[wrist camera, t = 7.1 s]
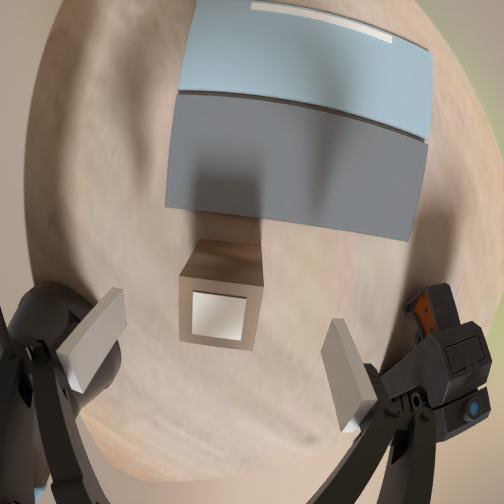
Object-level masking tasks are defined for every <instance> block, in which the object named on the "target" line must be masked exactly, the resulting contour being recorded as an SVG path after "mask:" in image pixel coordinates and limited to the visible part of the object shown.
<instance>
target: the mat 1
mask: <svg viewBox="0 0 504 504" xmlns="http://www.w3.org/2000/svg"><path fill="white" fill-rule="evenodd" d="M432 86H433V63H432V53H430V52H428V51H426V50H424V49H423V48H421V47H419V46H417V45H414V44H412V43H410V42H408V41H406V40H404V39H402V38H399V37H397V36H395V35H392V34H390V33H387V32H385V31H382V30H380V29H377V28H375V27H372V26H369V25H366V24H363V23H360V22H357V21H354V20H351V19H348V18H345V17H341V16H338V15H334V14H330V13H326V12H322V11H318V10H313V9H309V8H304V7H299V6H293V5H287V4H280V3H273V2H265V1H255V0H197V3H196V7H195V11H194V15H193V18H192V22H191V26H190V30H189V35H188V39H187V43H186V48H185V53H184V57H183V62H182V68H181V73H180V78H179V84H178V89H179V90H191V91H215V92H229V93H240V94H250V95H258V96H266V97H273V98H279V99H285V100H291V101H297V102H302V103H307V104H312V105H317V106H321V107H326V108H330V109H334V110H338V111H342V112H346V113H349V114H353V115H357V116H360V117H364V118H367V119H370V120H373V121H377V122H380V123H383V124H386V125H389V126H392V127H395V128H397V129H400V130H403V131H406V132H408V133H411V134H413V135H416V136H419V137H421V138H423V139H429V133H430V123H431V110H432Z"/></svg>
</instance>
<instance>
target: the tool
mask: <svg viewBox="0 0 504 504" xmlns="http://www.w3.org/2000/svg"><path fill="white" fill-rule="evenodd" d="M403 309H404V312H405V316H406V317H411V316H412V317H413V319H414V320H415V322H416V324H417V326H418V329H419V330H418V331H417V332H416V336H415V342H416V347H415V348H414V349H413V350H412V351H411V352H410V353H409V354H408V355H406V356H405V357H404V358H403V359H402V360H401V361H400V362H398V363H397V364H396V365H395V366H394V367H392V368H391V369H390V370H389V371H388V372H386V373H385V374H384V375H383V376H381V377H380V378H381V380H382V383H383V385H384V387H385V389H386V392H387V394H388V396H389V399H390V401H391V402H393V403H396V404H397V405H399V407H400V408H401V410H402V411H407V412H414V413H415V412H416V410H417V409H418V408H420V407H428V408H430V409H431V410H433V412H434V413H435V415H436V443H438V442H443V441H446V440H448V439H450V438H452V437H454V436H456V435H458V434H460V433H461V432H463V431H465V430H467V429H469V428H470V427H472V426H474V425H475V424H477V423H479V422H481V421H482V420H484V419H485V418H487V417H488V415H489V413H490V411H491V407H490V402H489V396H488V391H487V387H484V388H482V389H480V390H478V389H477V387H479V386H481V385H483V384H485V383H486V381H487V378H488V374H489V371H490V367H491V364H492V359H491V355H490V352H489V349H488V346H487V343H486V340H485V337H484V334H483V332H482V329H481V327H480V326H478V325H477V324H476V323H474V322H473V321H470V322H467V323H464V324H460V320H459V316H458V312H457V308H456V305H455V301H454V298H453V295H452V292H451V288H450V285H448V284H447V283H442V284H437V285H432V286H427V287H423V288H422V289H421V290H420V291H419V292H418V293H417V294H415V295H414V296H413V297H412V298H411V299H410V300H409V301H407V302H406V303H405V304H404V305H403Z"/></svg>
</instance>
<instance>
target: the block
mask: <svg viewBox="0 0 504 504" xmlns="http://www.w3.org/2000/svg"><path fill="white" fill-rule="evenodd" d="M263 289H264V281H263V266H262V251H261V247H260V246H252V245H244V244H236V243H228V242H220V241H212V240H204V239H200V241H199V243H198V244H197V246H196V248H195V249H194V251H193V253H192V255H191V256H190V258H189V260H188V261H187V263H186V265H185V267H184V268H183V270H182V272H181V274H180V275H179V341H183V342H189V343H195V344H202V345H208V346H215V347H223V348H231V349H239V350H248V351H253V345H254V340H255V334H256V329H257V323H258V318H259V312H260V306H261V301H262V295H263Z"/></svg>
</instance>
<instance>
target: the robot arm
mask: <svg viewBox="0 0 504 504" xmlns="http://www.w3.org/2000/svg"><path fill="white" fill-rule="evenodd" d="M126 325H127V321H126V313H125V305H124V296H123V289H118V288H114V287H112V288H111V290H110V291H109V292H108V293H107V294H106V295H105V296H104V297H103V298H102V299H101V300H100V301H99V302H98V303H97V305H96V306H95V307H94V308H93V307H92V306H91V305H90V304H89V303H88V302H87V301H86V300H85V299H84V298H82V297H81V296H80V295H78V294H77V293H76V292H74V291H72V290H71V289H69V288H67V287H65V286H63V285H60V284H57V283H54V282H42V283H39V284H37V285H35V286H34V287H33V288H32V289H30V291H28V292H27V293H26V294H25V295H24V296H23V297H22V299H21V301H20V303H19V305H18V309H17V310H16V312H15V314H14V316H13V317H12V319H11V321H10V323H9V325H8V327H6V324H5V321H4V318H3V314H2V311H1V307H0V504H36V502H37V501H38V499H39V497H40V495H41V494H42V492H43V491H44V490H45V488H46V487H47V480H48V478H49V475H50V473H51V476H52V479H53V483H52V484H51V490H52V493H53V496H54V499H55V501H56V504H110V502H109V501H108V500H107V498H106V497H105V495H104V493H103V491H102V489H101V487H100V485H99V482H98V480H97V478H96V476H95V474H94V471H93V469H92V467H91V464H90V462H89V459H88V457H87V454H86V452H85V449H84V446H83V443H82V440H81V437H80V435H79V431H78V429H77V425H76V422H75V419H76V417H77V416H78V414H79V412H80V410H81V409H82V408H83V407H84V406H85V405H86V404H88V403H89V402H90V401H91V400H93V399H94V398H95V397H96V396H97V395H98V394H100V393H101V392H102V391H103V390H104V389H106V388H107V387H109V386H110V385H111V383H112V382H113V380H114V378H115V376H116V375H117V373H118V371H119V369H120V365H121V354H120V350H119V346H118V343H117V341H116V340H117V339H118V337H119V336H120V334H121V333H122V331H123V330H124V328H125V327H126ZM321 355H322V358H323V362H324V366H325V370H326V374H327V377H328V381H329V385H330V389H331V393H332V397H333V401H334V405H335V409H336V413H337V417H338V422H339V426H340V430H341V433H347V432H355V431H356V429H357V428H358V427H359V426H360V429H361V432H360V434H359V435H358V436H357V437H356V438H355V440H354V441H353V442H354V443H353V444H352V446H351V447H350V448H349V450H348V451H347V453H346V454H345V456H344V457H343V459H342V460H341V461H340V463H339V464H338V465H337V467H336V468H335V470H334V471H333V472H332V473H331V475H330V476H329V477H328V478H327V480H326V481H325V482H324V483H323V485H322V486H321V487H320V488H319V489H318V491H317V492H316V493H315V494H314V495H313V496H312V498H311V499H310V500H309V501H308V502H307V503H306V504H354V503H355V502H356V500H357V499H358V497H359V496H360V494H361V493H362V491H363V489H364V488H365V486H366V485H367V483H368V482H369V480H370V478H371V477H372V475H373V473H374V472H375V470H376V468H377V466H378V464H379V463H380V461H381V459H382V457H383V455H384V453H385V451H386V449H387V447H388V446H391V447H390V452H389V457H388V462H387V466H386V471H385V475H384V479H383V483H382V487H381V490H380V494H379V497H378V501H377V504H430V499H431V493H432V486H433V476H434V467H435V453H436V452H435V451H436V415H435V413H434V412H433V410H431V409H430V408H428V407H420V408H418V409H417V410H416V412H415V413H414V412H407V411H402V410H401V408H400V407H399V405H397V404H396V403H393V402H391V401H390V399H389V396H388V394H387V392H386V389H385V387H384V385H383V383H382V380H381V378H380V376H379V374H378V372H377V369H376V368H375V367H374V366H373V365H372V364H371V363H370V364H363V362H362V360H361V357H360V355H359V353H358V350H357V348H356V346H355V344H354V341H353V339H352V337H351V335H350V332H349V330H348V328H347V326H346V323H345V321H344V319H336V318H332V321H331V324H330V327H329V330H328V332H327V335H326V338H325V341H324V344H323V347H322V349H321Z"/></svg>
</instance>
